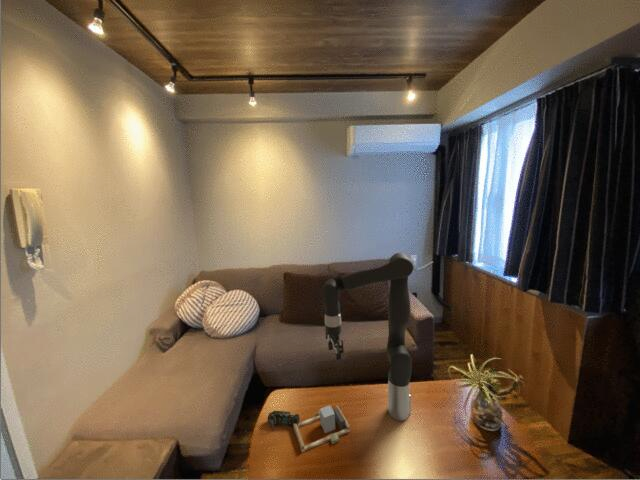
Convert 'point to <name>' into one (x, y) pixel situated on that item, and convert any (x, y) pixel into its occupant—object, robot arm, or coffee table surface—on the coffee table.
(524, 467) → the coffee table surface
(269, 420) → the stun grenade
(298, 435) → the beam frame
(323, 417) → the grey rectangular block
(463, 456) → the coffee table surface
